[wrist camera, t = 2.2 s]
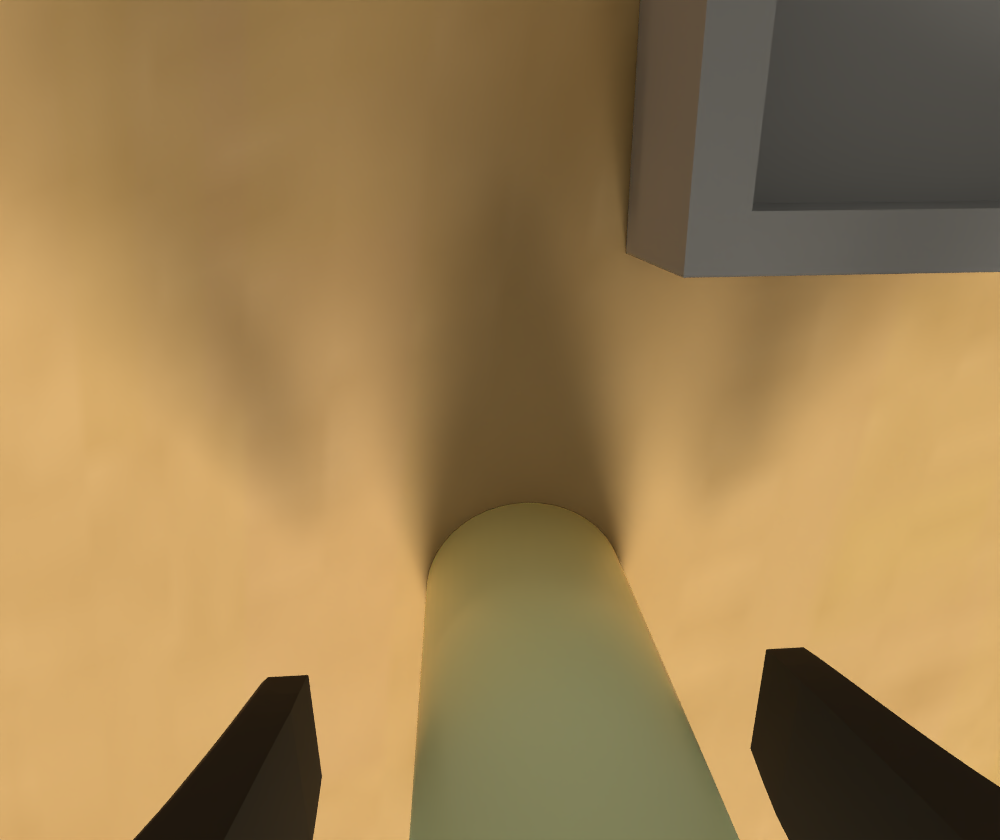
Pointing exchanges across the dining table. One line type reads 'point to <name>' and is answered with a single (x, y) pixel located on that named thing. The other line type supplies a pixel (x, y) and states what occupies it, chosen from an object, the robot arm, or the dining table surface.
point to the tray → (816, 137)
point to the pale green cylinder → (549, 695)
